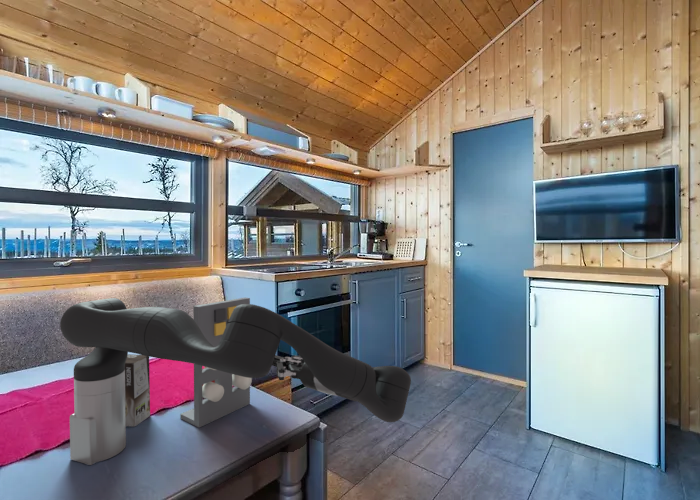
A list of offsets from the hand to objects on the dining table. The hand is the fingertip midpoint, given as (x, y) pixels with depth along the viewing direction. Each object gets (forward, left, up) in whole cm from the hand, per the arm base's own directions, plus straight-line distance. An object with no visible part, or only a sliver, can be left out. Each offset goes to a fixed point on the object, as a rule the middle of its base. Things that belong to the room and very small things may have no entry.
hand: (272, 359), depth 94 cm
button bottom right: (+3, +12, -10) cm, 16 cm away
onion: (+9, +28, -16) cm, 34 cm away
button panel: (0, +17, -16) cm, 23 cm away
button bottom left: (-6, +14, -10) cm, 18 cm away
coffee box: (-12, +35, -16) cm, 41 cm away
